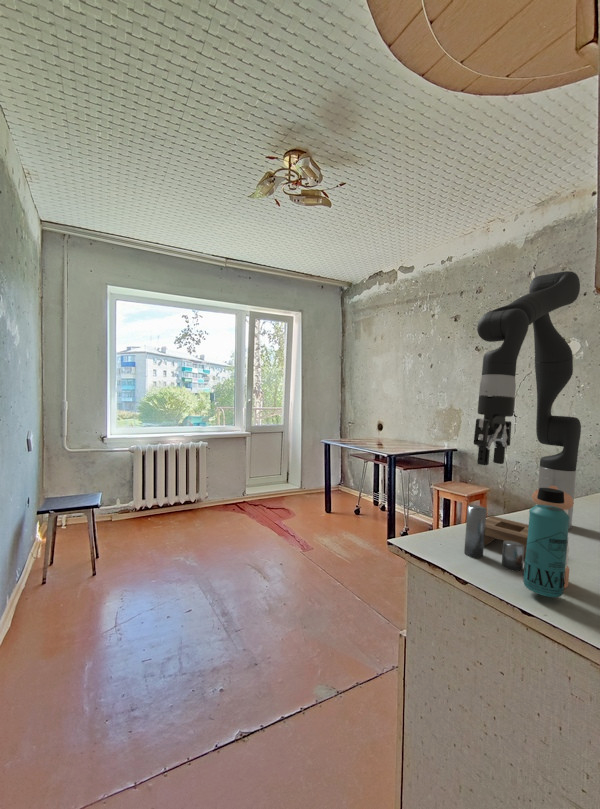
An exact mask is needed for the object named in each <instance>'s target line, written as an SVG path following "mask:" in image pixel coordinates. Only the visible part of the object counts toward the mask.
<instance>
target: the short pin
mask: <svg viewBox="0 0 600 809" xmlns="http://www.w3.org/2000/svg"><path fill="white" fill-rule="evenodd" d="M501 554H502V555H501V557H502V558H501V566H502V567H503V568H504V569H506V570H510V571H512V570H513V572H522V571H524V560H525V559H524V545H522V544H520V543H518V542H514V541H504V540H503V542H502V553H501Z"/></svg>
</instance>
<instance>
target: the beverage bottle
mask: <svg viewBox="0 0 600 809" xmlns="http://www.w3.org/2000/svg"><path fill="white" fill-rule="evenodd" d="M537 498H538V499H539V500H542V501H546V502H551V503H559V504H562V503H564V492H563V491H560V490H557V489H552V488H539V491H538V495H537ZM569 520H570V517H569V515H568V514H567V513H566V512H565V511H564V510H563V509H561V508H558V507H554V506H549V505H536V504H535V505H534V506H532V507H531V508H530V509H529V517H528V525H529V526H528V538H527V546H526V554H525V555H526V556H525V557H524V558H525V559H523V573H522V579H523V580H522V581H523V585H524V587H526V589H528V590H529V591H531V592H533V593H535V594H538V595H541V596H544V597H548V598H560V597H562V596H563V594H564V590H565V589H566V588H565V586H564V584H565V582H564V577H565V578H566V575H565V572H566V571H565V566H566V564H567V565H568V563H566V554H567V546H569V541H570V539H569V537H568V536H569V529H568V528H569ZM567 543H568V545H567Z"/></svg>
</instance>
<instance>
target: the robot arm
mask: <svg viewBox="0 0 600 809" xmlns="http://www.w3.org/2000/svg"><path fill="white" fill-rule="evenodd" d="M580 284H581V281H580V278H579V275H578V274H577V273H576V272H574V271H569V270H568V271H567V270H565V271H560V272H559V271H558V272H553V273H547V274H542V275H537V276H535V277H533V278H532V279H531V281H530V283H529V290H528V293H526V294H524V295H522V296H520V297H518V298H517V299H514V300H513V301H512V302H510V303H508V304H507V305H504V306H500V307H497V308H496V309H493V310H492V309H491V310H490V311H488V312H486V313H484V314H483V315H482V316H481V317H480V319H479V321H478V323H477V327H476V329H477V333H478V336H479V338H481V340H484V341H485V342H490V343H493V342H494V343H495V342H502V344H501V345H500V346H499V347H497V348H496V349H492V350H489V351H486V352H485V353H484V355H483V358H482V370H481V378H480V382H479V391H478V400H477V401H478V403H477V404H478V405H477V414H478V415H481V416H482V415H483V418H476V420H475V426H474V434H473V435H474V436H473V445H475V446H476V448H478V450H477V451H478V453H477V464H478V465H479V466H488V465H489V464H490V454H491V453H490V451H491V449H490V448H491V446H492V443H493V446H494V450H493V459H492V460H493V463H494V464H499V465H503V464H505V454H506V449H507V448H508V447H509V446H510V445H511V436H512V421H510V420H509V421H508V420H506V417H507V418H509V417H513V416H514V415H515V414H514V412H515V398H516V390H517V388H516V386H517V385H516V384H517V383H516V374H517V373H516V372H517V362H518V357H519V356H520V351H521V349H522V346H523V344H524V342H525V341H524V340H525V339H526V336H527V334H528V330H529V326H530V325H532V327H533V338H534V339H533V341H534V373H535V381H536V383H535V384H536V421H535V424H536V426H535V428H536V429H535V432H536V438H537V441H538V443H540V444H542V445H547V446H555V447H556V446H557V447H563V448H562V451H561V452H558V453H556V454H552V455H546V456H542V457H541V458H540V459H539V468H538V481H537V484H538V485H537V490H538V489H539V488H549V486H556V487H557V488H558V490H560V491H563V492H565V493H567V494H569V495H570V496H571V497H572V499H573V501H574V500H575V490H576V489H575V488H576V476H577V475H576V474H577V466H578V465H577V463H578V456H579V446H580V440H581V434H582V426H581V421H580V419H579V418H577V417H574V416H567V415H566V416H565V415H564V416H563V415H552V408H553V404H554V403H555V401H556V399H557V397H558V396H559V394H560V393H561V392H562V391H563V389H564V388H565V387H566V386H567V384H568V383H569V381H570V380H571V378H572V376H573V372H574V366H573V365H574V361H573V360H574V359H573V358H574V357H573V356H574V355H573V351H572V348H571V347H570V345H569V343H567V340H565V339H564V337H563V336H562V335H561V334H560V332H559V331H557V329H556V328H555V326H554V324H553V323H552V320H551V317H550V313H551V312H554V311H555V310H557V309H560V308H563V307H565V306H568V305H571V304H573V303H575V302H576V300H577V299H578V297H579V294H580V290H581V285H580ZM573 514H574V505H573V506H572V508H571V509H568V515H569V517H570V520H569V528H568V530H570V529H572V527H573V526H572V525H573Z"/></svg>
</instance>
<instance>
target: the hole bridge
mask: <svg viewBox="0 0 600 809" xmlns="http://www.w3.org/2000/svg"><path fill="white" fill-rule="evenodd" d="M528 526H529V524H528V523H523V522H518V521H515V520H511V519H507V518H501V517H498V516H494V515H490V516H489V517H486V525H485V539H484V547H486V546H488V544H490V543H492V541H494V540H496V539H497V540H501V541H503V542H504V541H514V542H518V543H520V544H522V545H524V557H525V556H526V555H525V554H526V546H527V538H528ZM523 560H525V558H524V559H523Z"/></svg>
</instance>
